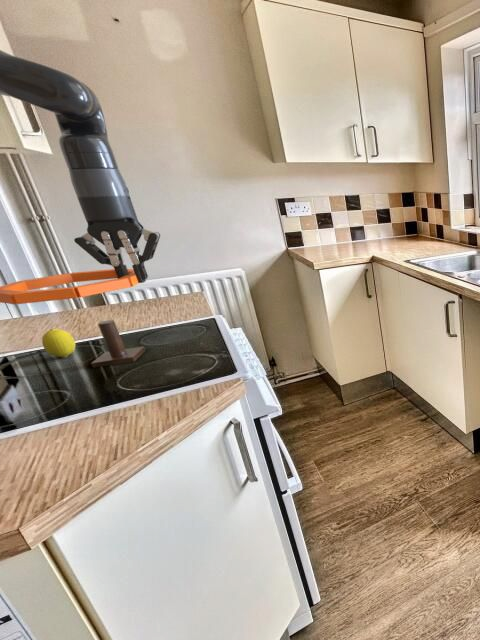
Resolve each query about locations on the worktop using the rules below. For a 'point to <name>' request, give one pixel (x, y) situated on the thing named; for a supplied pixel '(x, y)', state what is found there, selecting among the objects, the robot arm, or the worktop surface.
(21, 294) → the ring
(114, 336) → the post
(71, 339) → the lemon
